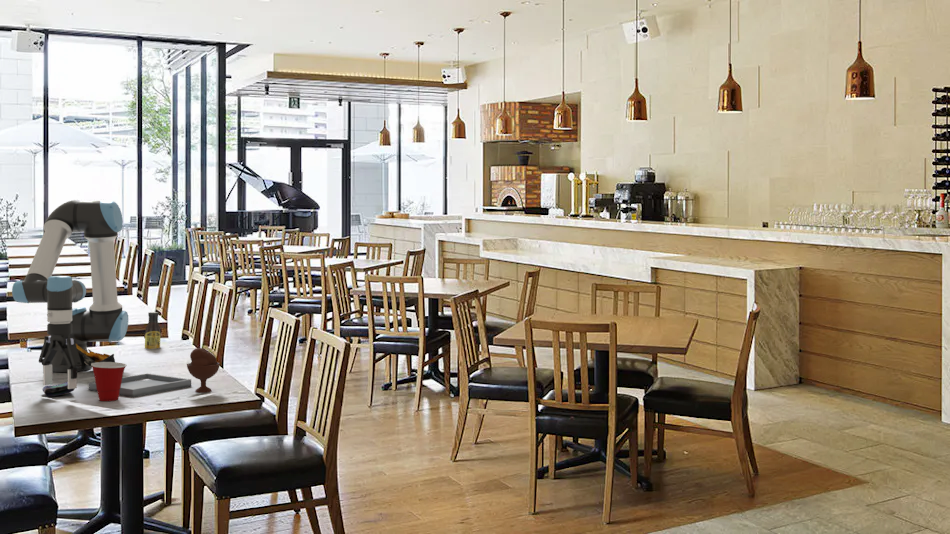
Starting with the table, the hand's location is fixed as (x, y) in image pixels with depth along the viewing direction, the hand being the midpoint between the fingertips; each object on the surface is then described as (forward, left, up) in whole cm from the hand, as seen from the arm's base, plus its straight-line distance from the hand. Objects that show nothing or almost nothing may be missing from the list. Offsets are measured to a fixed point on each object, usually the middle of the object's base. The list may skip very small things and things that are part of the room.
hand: (59, 386), depth 293 cm
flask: (+1, 0, -4) cm, 4 cm away
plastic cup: (+18, +6, -4) cm, 20 cm away
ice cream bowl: (+32, +32, -4) cm, 46 cm away
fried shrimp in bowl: (-24, +35, -3) cm, 42 cm away
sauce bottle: (-48, +73, -4) cm, 88 cm away
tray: (+9, +24, -3) cm, 26 cm away
